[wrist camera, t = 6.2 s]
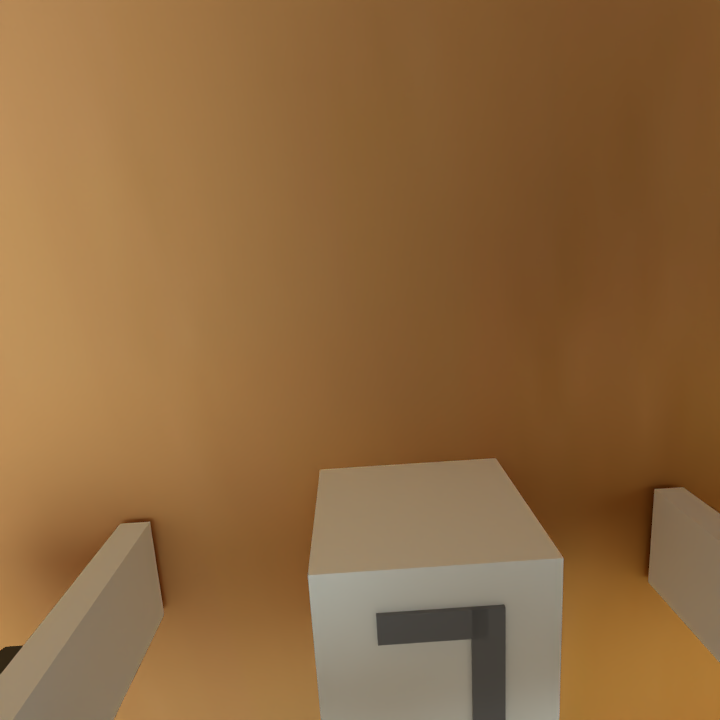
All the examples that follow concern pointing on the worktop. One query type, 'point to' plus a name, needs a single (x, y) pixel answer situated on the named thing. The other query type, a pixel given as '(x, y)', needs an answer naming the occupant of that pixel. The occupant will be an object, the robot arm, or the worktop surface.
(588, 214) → the worktop surface
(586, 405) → the worktop surface
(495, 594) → the letter cube
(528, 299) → the worktop surface
